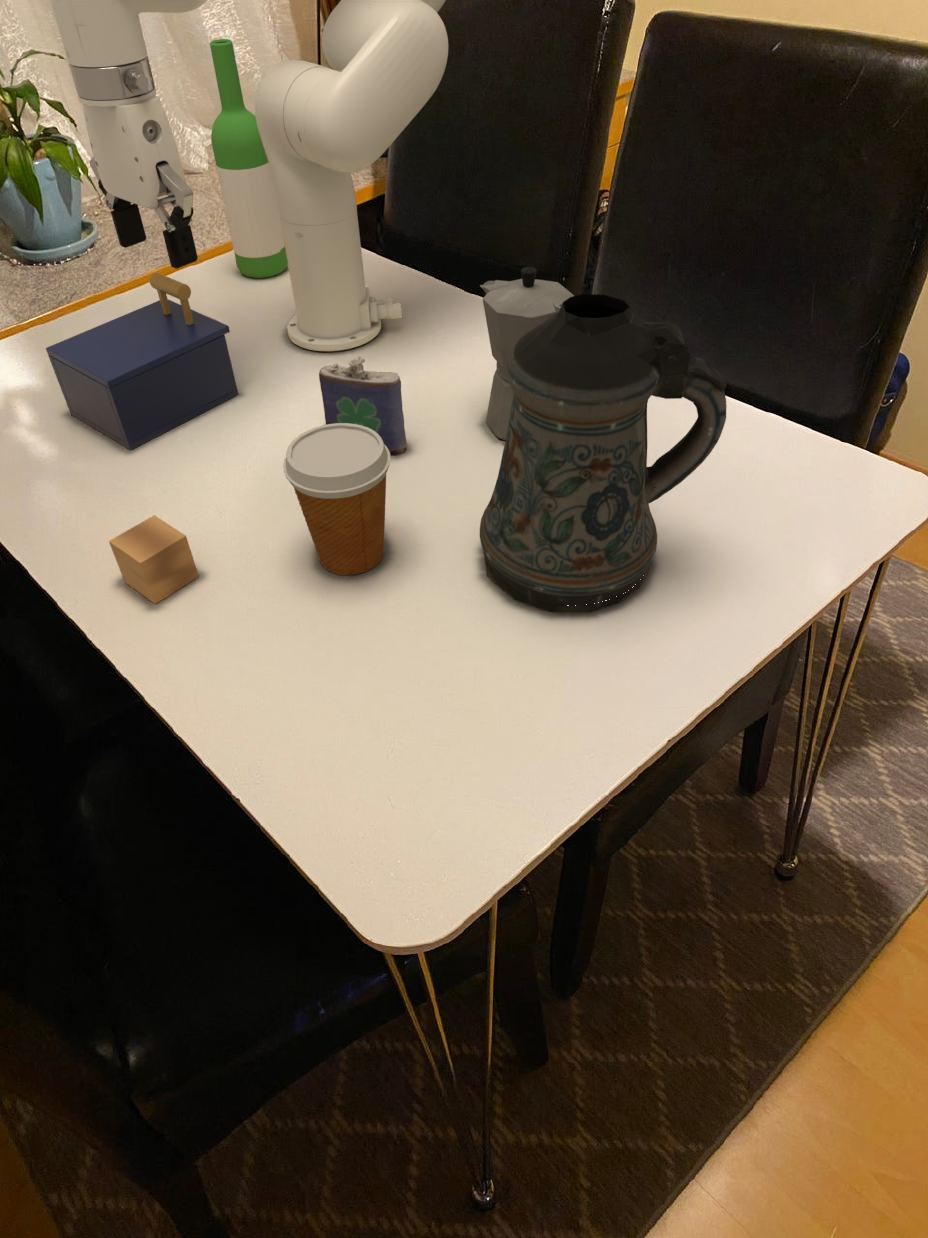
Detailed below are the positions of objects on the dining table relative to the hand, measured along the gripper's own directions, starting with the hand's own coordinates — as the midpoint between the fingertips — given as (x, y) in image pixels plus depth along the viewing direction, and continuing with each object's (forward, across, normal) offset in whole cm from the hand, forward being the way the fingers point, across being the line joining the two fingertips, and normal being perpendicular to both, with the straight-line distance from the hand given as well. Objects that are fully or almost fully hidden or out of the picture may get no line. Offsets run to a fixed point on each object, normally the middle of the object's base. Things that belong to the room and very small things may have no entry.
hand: (158, 253), depth 101 cm
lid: (+9, 0, +5) cm, 10 cm away
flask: (+16, -27, -4) cm, 32 cm away
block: (+17, -28, +24) cm, 41 cm away
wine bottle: (+16, +21, -29) cm, 39 cm away
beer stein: (+16, -57, -3) cm, 59 cm away
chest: (+16, 0, +6) cm, 17 cm away
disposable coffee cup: (+17, -40, +10) cm, 44 cm away
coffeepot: (+16, -39, -18) cm, 46 cm away
